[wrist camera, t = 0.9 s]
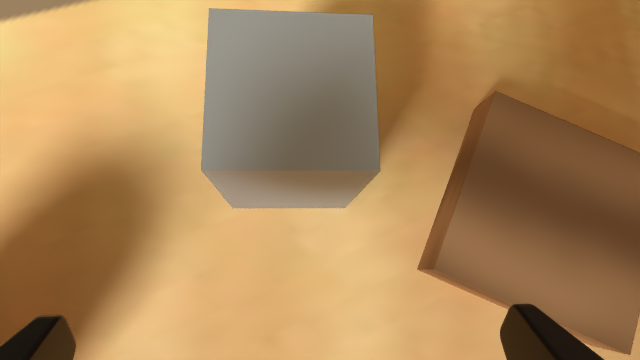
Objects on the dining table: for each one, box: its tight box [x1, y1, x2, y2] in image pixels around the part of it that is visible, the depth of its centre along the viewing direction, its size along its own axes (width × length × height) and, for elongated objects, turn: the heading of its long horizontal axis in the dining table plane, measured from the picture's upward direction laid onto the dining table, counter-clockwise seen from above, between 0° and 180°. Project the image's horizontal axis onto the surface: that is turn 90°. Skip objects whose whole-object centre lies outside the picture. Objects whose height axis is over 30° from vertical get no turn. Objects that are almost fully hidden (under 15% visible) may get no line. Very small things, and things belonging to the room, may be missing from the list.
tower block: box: [201, 8, 380, 208], centre depth 19 cm, size 6×6×8 cm
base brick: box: [417, 91, 640, 355], centre depth 22 cm, size 10×10×3 cm
